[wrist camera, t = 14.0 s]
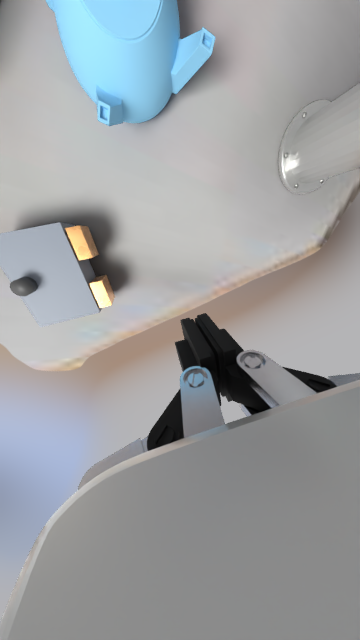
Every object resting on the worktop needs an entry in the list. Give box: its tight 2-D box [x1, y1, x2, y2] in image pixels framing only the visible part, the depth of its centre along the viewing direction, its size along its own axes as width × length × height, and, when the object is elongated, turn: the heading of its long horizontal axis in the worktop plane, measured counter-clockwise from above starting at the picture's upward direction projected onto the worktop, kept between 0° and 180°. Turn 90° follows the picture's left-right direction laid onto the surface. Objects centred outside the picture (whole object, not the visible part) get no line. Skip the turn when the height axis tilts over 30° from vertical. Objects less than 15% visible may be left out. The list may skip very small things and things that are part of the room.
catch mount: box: [0, 222, 102, 327], centre depth 28 cm, size 10×14×8 cm
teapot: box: [46, 0, 215, 126], centre depth 18 cm, size 15×15×11 cm
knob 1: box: [65, 225, 99, 260], centre depth 27 cm, size 12×4×5 cm, turn 101°
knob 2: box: [89, 275, 115, 308], centre depth 31 cm, size 12×4×5 cm, turn 101°
